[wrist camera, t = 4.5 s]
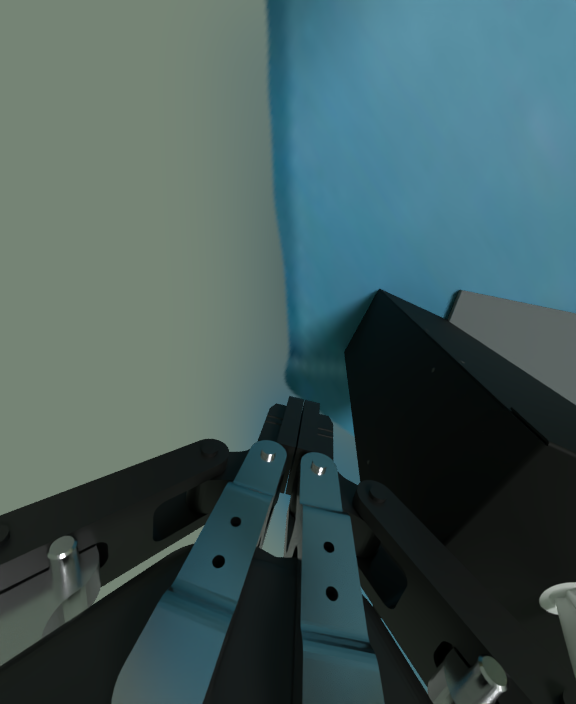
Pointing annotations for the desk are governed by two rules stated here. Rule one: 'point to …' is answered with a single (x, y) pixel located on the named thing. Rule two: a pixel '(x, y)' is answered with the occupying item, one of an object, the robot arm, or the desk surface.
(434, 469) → the black rectangular bar
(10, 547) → the robot arm
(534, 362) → the rubber mat
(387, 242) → the desk surface
